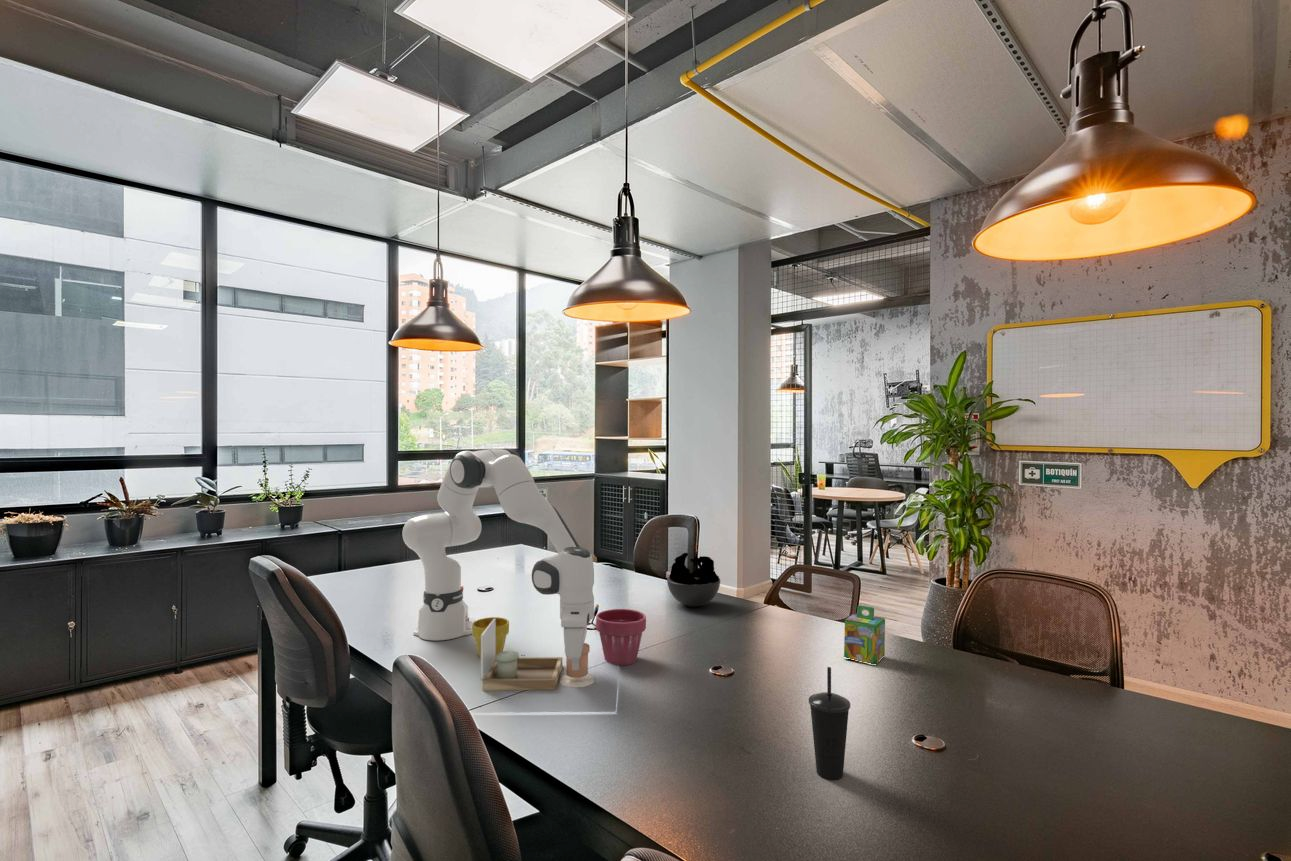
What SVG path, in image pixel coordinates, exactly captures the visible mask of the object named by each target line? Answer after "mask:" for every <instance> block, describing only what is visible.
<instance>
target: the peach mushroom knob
mask: <svg viewBox="0 0 1291 861" xmlns="http://www.w3.org/2000/svg"><path fill="white" fill-rule="evenodd" d="M590 649H591V648H590V644H588V643H587V642H584V646H583V650H582V654H581V658H580V659H579V670H572V661H571V659H567V658H565V660H566V662H565V664H566V665H565V667H566V670H565V675H567V676H569V677H572V678H580V677H584V676H586V675H587V674H589V653H590Z"/></svg>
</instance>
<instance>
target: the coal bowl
mask: <svg viewBox="0 0 1291 861" xmlns="http://www.w3.org/2000/svg"><path fill="white" fill-rule="evenodd" d="M688 556H689V553H688V552H684V553H682V554H680V555H679V556H677V557H675V558H674V562H673V563H672V565H671V567H670V568H671V569H670V573H669V576H668V577H667V578H666V583H667V586H668V590H669V592H670V593H671V595H672V596H673V598H674V599H675V600H676V601H677V602H679V603H680V604H682V605H685V606H686V607H702V606H704V605H706V604H708V603H709V602H711V601H712V600H713V599H714V598H715V597H716V596H717V594H718V592H719V589H720V586H721V578H720V576H719V575H717V573H716V571H715V561H714V559H713V558H711V557H710V556H706V555H704V556H702V555H701V556H698V557H697V556H695V557H694V558H690V559H689V561H690V562H692V563H693V564H694V565H697V568H696V570H694V571H693V572H690V569H689V568H688V567H687V566H686V559H687V557H688Z"/></svg>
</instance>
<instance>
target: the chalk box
mask: <svg viewBox="0 0 1291 861" xmlns="http://www.w3.org/2000/svg"><path fill="white" fill-rule="evenodd" d="M864 611H867V612H868V614H866V613H863V612H864ZM843 634H844V639H843V640H844V642H843V644H844V646H843V658H844V657H846V658H850V659H854V660H858V661H862V662H867V663H871V664H877V663H878V662H879V660H880V659H881V658H882V657H883V656H884V657H885V653H886V652H885V651H886V649H885V647H886V646H885V645H886V643H885V642H886V639H885V638H886V619H885V618H884V617H880V616H875V607H872V606H867V605H857V610H856V612H854V613H852V614H851V615H849V616H848V617H846V618H845V619H844V633H843ZM879 663H880V662H879ZM879 663H878V664H879ZM878 664H877V665H878Z"/></svg>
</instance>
